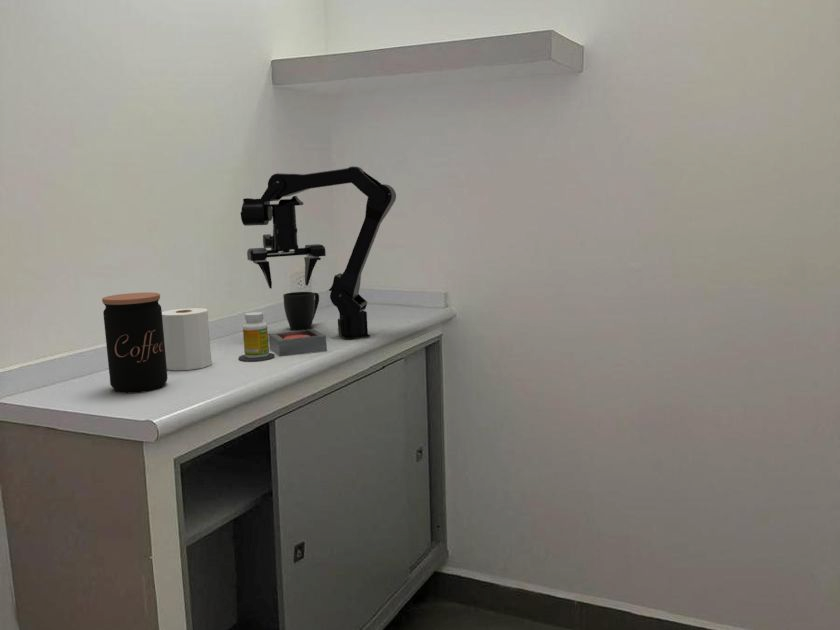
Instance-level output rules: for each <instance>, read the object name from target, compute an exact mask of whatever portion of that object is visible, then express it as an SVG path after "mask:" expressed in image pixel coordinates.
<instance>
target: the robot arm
mask: <svg viewBox="0 0 840 630" xmlns="http://www.w3.org/2000/svg"><path fill="white" fill-rule="evenodd" d="M346 184H353V186H354V187H356V189H358V191H360V192H361V193H362V194H364V195H365V196H366V197H367V200H366V204H365V205H366V206H365V215H364V220H363V222H362V224H361V228H360V231H359V234H358V235H357V238H356V241H355V244H354V246H353V248H352V251H351V254H350V256H349V259H348V262H347V264H346V267H345V269H344V271H343V272H339V273H338V274H335V275H334V276H333V281H332V285H331V286H330V288H329V289H328V291H329V292H330V294H329V300H330V301H331V303H332V305H333V306H334V307H336V309H337V310H338V313H339V318H338V319H337V331H338V334H337V335H338V337H340V338H342V339H344V340H351V339H353V340H354V339H360V338H361V339H362V338H370V337H371V334H369V331H368V313H367V311H366V308H367V306H368V301H367V300H366V299H365V298H364V297H362V296H361V294H359V293H360V288H361V279H362V272H363V270H364V268H365V266H366V262H367V260H368V257H369V255H370V252H371V250H372V247H373V244H374V242H375V239H376V237H377V234H378V231H379V229H380V226H381V224H382V223H383V221H384V219H385V218H386V216H387V215H388V214H389V212H390V210H391V209H392V207H393V206H394V203H395V202H396V199H397V194H396V191H395V189H394V188H393V187H392V186H391V185H389V184H387V183H383V184H382V183H381V182H380V181H378V180H377V179H376V178H375V177H372V175H370V174H368V173H367V172H366V171H364V170H363V168H361V167H359V166H356V165H355V166H349V167H346V168H340V169H333V170H331V169H330V170H327V171H326V170H324V171H319V172H312V173H305V174H303V173H281V172H279V173H278V172H277V173H274V174H272V175H270V178H269V179H268V182H267V188H266V189H265V191H264V192H263V194H262V196H261V197H260V198H251V197H250V198H248V197H247V198H246V197H245V198H243V199H242V203H243V204H242V205H241V211H240V219H241V223H242V225H243V226H244V227H248V226H267V225H269V222H271V221H272V227H273V228H272V235H271V234H270V233H269V234H263V235H262V245H263V247H253V248H248V249H247V251H246V256H247V261H250V262H252V263H253V264H256V265H257V266H259V268H260V270H261V272H262V273H263V276H264V279H265V281H266V283H267V286H268V288H269V289H273V288H272V286H273V283H272V282H273V281H272V276H271V275H272V274H271V268H270V267H271V266H270V261H269V260H267V258H278V257H279V258H280V257H292V256H293V257H294V256H304V257H303V258H304V283H305V285H304V286H306V287H308V286H309V283H310V280H311V278H312V273H313V271H314V268H315V266H316V264H317V262H318V261H321V259H322V258H321V257H326V247H325V246H324V245H323V244H319V243H315V244H314V243H313V244H305V245H304V247H299V243H298V228H297V219H296V218H297V215H296V206H303V205H304V201H302V200H300V199H299V198H298V196H297V194H300V193H302V192H305V191H308V190H310V189H318V188H325V187H332V186H338V185H346ZM286 197H287V198H286ZM288 197H291V198H288ZM282 198H284V199H282ZM285 198H286V199H285ZM271 202H278V203H272V204H271Z"/></svg>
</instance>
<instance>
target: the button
mask: <svg viewBox="0 0 840 630" xmlns="http://www.w3.org/2000/svg"><path fill="white" fill-rule="evenodd" d="M301 337H310V336H309V335H291V336H286V337H284V339H291V338H301Z"/></svg>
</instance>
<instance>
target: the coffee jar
mask: <svg viewBox="0 0 840 630" xmlns="http://www.w3.org/2000/svg"><path fill="white" fill-rule="evenodd" d="M160 300H161V293H158V292H131V293H130V292H129V293H121V294H113V295H107V296H104V297H102V298H101V301H102V304H103V305H104V306H105V308H104V310H103V312H102V313H103V323H104V334H105V343H106V355H107V363H108V364H107V365H108V373H109V384H110V387H112V388H113V390H114V391H115V392H116V391H117V393H120V392H126V393H125V394H129V393H128V392H137V393H143V392H142V391H146V392H151V391H154V389H155V390H158V389H161V388H162V387H165V384H166V383H167V380H168V369H167V366H166V354H165V343H164V332H163V321H162V312H163V310H162V306H161V305H160V304H159V301H160ZM150 390H151V391H150Z"/></svg>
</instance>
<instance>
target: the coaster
mask: <svg viewBox="0 0 840 630" xmlns="http://www.w3.org/2000/svg"><path fill="white" fill-rule="evenodd" d="M275 357H276V353H272V352H269V355H268V356H266V357H262V358H247V357H245V354H242V355H239V356H238V360H239V361H241V362H246V363H247V362H249V363H250V362H251V363H252V362H265V361H268V360H272V359H275Z"/></svg>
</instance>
